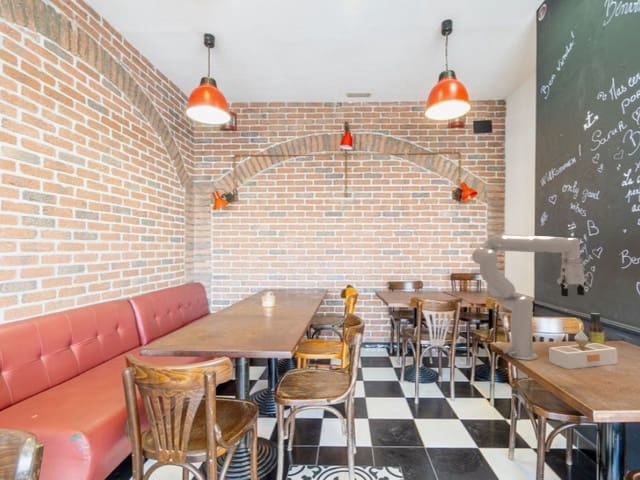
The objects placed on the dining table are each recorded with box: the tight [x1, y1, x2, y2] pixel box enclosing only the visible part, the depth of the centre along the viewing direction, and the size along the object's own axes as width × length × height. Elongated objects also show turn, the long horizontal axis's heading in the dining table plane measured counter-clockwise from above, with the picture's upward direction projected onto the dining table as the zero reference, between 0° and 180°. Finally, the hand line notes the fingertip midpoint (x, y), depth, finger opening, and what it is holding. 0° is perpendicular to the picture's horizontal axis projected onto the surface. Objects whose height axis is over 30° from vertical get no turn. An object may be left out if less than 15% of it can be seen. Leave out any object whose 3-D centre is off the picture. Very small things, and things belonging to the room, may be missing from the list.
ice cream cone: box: [573, 328, 590, 351], centre depth 164 cm, size 6×6×15 cm
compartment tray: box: [548, 343, 619, 370], centre depth 163 cm, size 28×11×7 cm, turn 101°
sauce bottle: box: [588, 312, 606, 346], centre depth 180 cm, size 7×6×20 cm
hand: (572, 295), depth 175 cm, fingers open, 9 cm apart
